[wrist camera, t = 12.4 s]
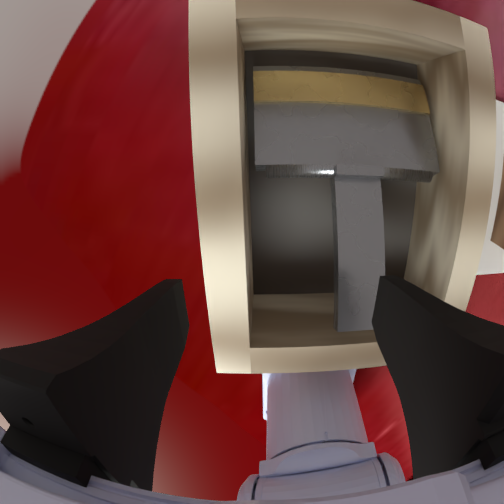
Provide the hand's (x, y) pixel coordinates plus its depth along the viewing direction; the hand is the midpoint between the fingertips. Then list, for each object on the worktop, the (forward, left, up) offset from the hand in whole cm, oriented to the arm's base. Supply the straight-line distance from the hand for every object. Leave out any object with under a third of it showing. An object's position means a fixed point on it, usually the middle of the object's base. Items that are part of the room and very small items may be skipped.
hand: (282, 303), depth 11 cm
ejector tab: (+3, -4, -6) cm, 8 cm away
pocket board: (+4, -4, -9) cm, 11 cm away
